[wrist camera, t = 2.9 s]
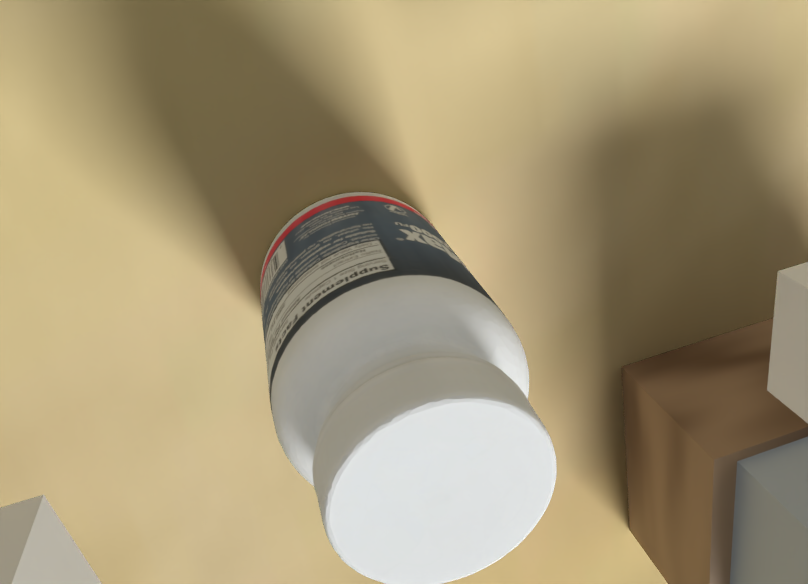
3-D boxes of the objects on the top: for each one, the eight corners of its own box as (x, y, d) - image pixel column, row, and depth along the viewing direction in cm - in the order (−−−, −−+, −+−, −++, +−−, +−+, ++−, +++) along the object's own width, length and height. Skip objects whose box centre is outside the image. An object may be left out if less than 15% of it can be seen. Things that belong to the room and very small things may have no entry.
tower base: (626, 526, 26) (707, 638, 22) (618, 364, 22) (714, 459, 18) (804, 463, 27) (915, 558, 23) (825, 297, 23) (963, 372, 19)
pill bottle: (476, 293, 20) (639, 506, 12) (331, 389, 20) (398, 660, 12) (383, 147, 17) (514, 296, 9) (217, 260, 17) (210, 498, 10)
